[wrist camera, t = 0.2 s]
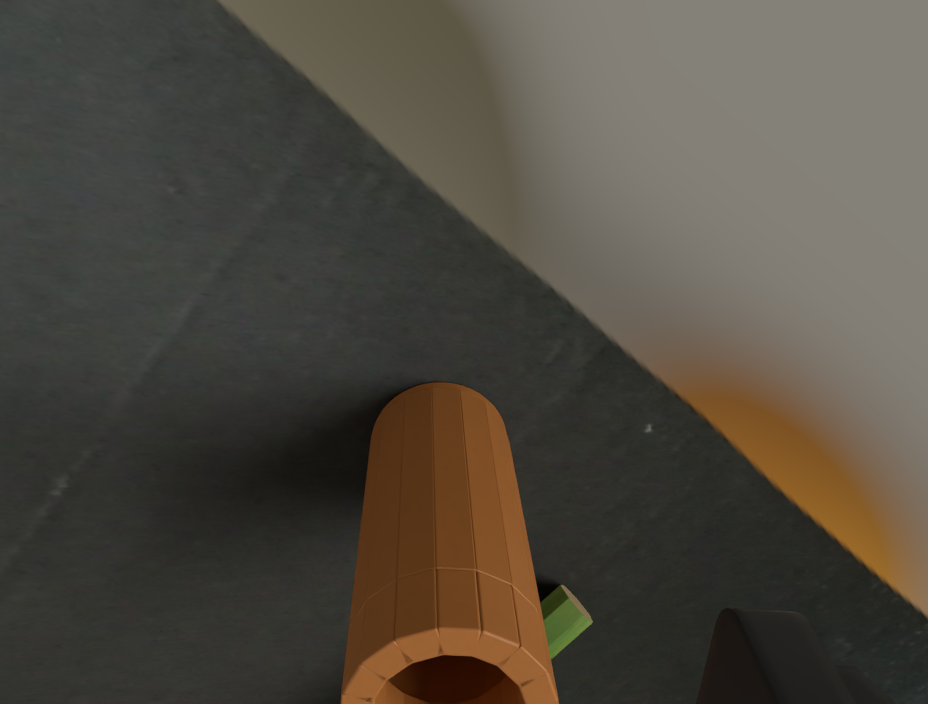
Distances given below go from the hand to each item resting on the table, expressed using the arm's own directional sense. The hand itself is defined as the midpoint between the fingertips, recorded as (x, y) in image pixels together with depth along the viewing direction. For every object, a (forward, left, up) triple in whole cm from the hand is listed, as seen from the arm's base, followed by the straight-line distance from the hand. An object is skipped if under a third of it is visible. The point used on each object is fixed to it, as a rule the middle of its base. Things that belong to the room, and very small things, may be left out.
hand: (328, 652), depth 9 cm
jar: (+10, -6, -25) cm, 28 cm away
